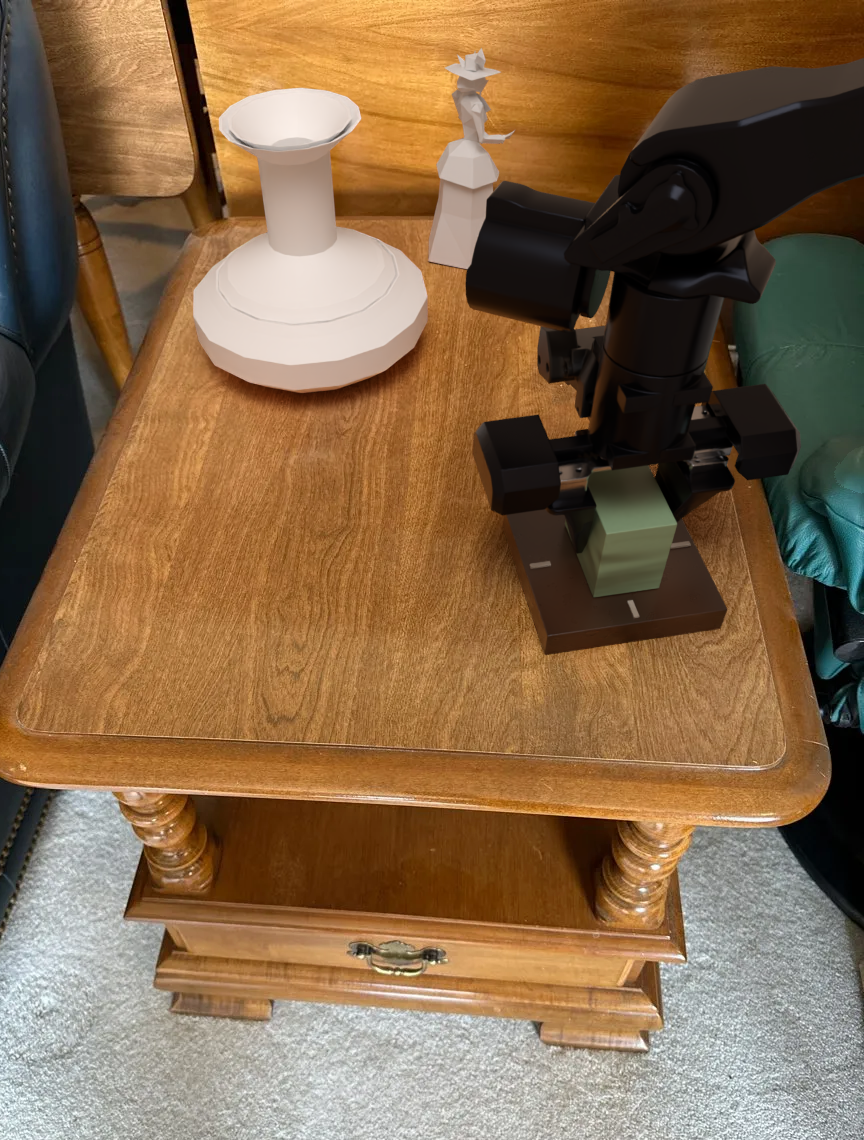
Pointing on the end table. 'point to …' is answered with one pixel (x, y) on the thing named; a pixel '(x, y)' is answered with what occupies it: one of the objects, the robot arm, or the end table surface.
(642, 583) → the box
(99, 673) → the end table surface
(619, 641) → the plate
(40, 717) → the end table surface
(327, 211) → the white vase
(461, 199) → the figurine
